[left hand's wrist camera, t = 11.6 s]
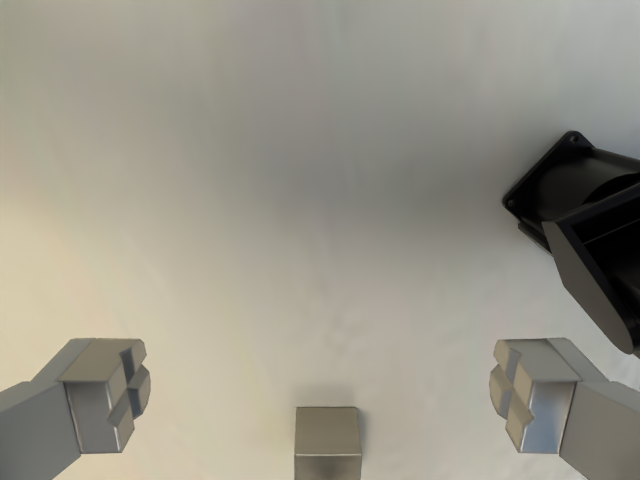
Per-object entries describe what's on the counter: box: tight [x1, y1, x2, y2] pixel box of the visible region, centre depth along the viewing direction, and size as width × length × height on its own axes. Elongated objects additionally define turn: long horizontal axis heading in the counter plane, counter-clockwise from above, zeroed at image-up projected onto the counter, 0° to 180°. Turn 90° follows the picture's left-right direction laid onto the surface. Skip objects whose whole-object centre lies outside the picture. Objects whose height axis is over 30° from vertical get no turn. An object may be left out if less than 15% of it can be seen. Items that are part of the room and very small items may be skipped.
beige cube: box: [294, 408, 362, 480], centre depth 35 cm, size 5×5×5 cm
